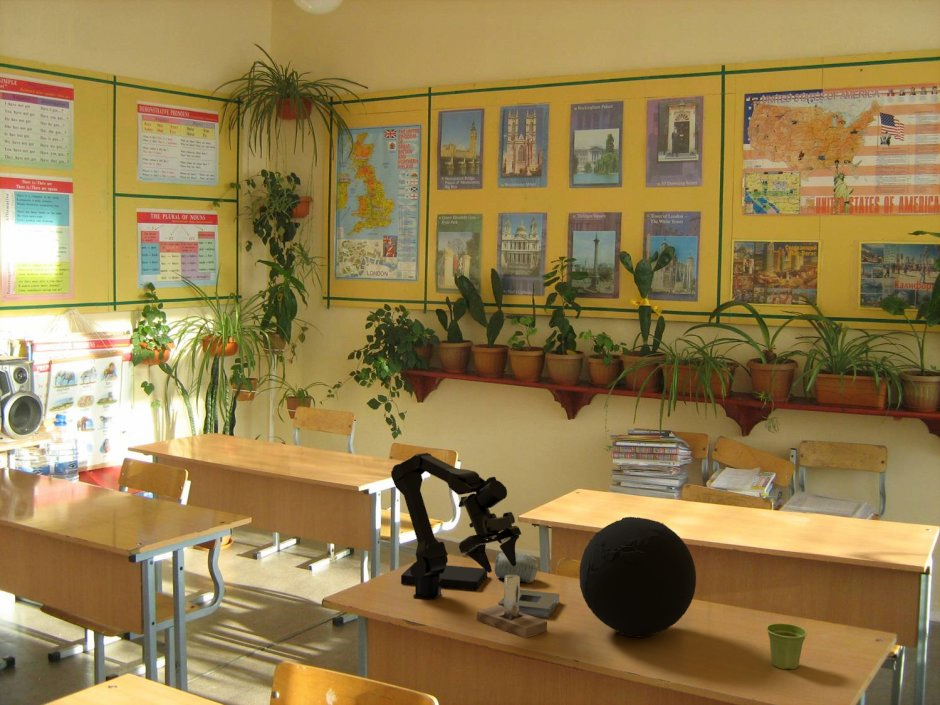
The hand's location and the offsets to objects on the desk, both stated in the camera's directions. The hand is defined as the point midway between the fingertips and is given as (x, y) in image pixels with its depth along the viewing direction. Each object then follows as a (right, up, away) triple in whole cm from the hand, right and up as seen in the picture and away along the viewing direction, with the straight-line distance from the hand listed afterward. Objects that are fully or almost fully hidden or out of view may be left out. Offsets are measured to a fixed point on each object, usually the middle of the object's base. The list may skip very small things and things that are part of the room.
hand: (502, 569), depth 272 cm
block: (+8, -13, +13) cm, 21 cm away
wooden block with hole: (+2, -14, -2) cm, 15 cm away
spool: (+5, -12, +39) cm, 41 cm away
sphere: (+34, -16, -6) cm, 38 cm away
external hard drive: (-16, -12, +37) cm, 42 cm away
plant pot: (+67, -18, -26) cm, 74 cm away
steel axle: (+2, -14, -2) cm, 15 cm away
